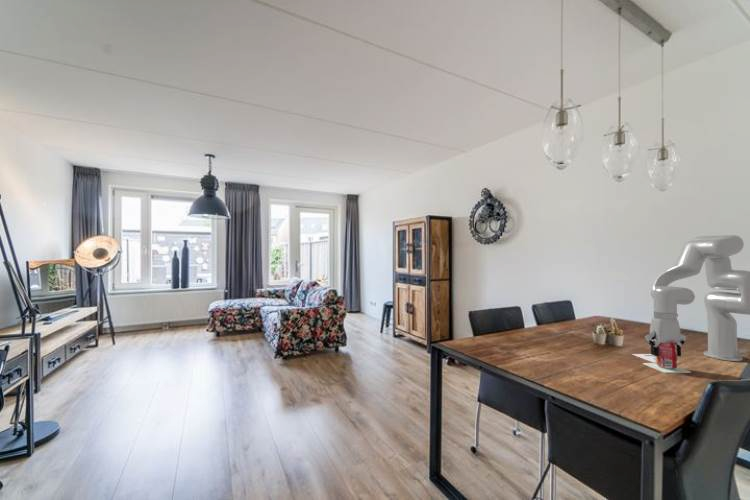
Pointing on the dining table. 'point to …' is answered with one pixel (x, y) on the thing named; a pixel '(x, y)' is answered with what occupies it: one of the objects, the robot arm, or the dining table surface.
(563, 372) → the dining table surface
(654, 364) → the mat
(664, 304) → the robot arm
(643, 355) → the tile
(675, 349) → the soda can
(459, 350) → the dining table surface
